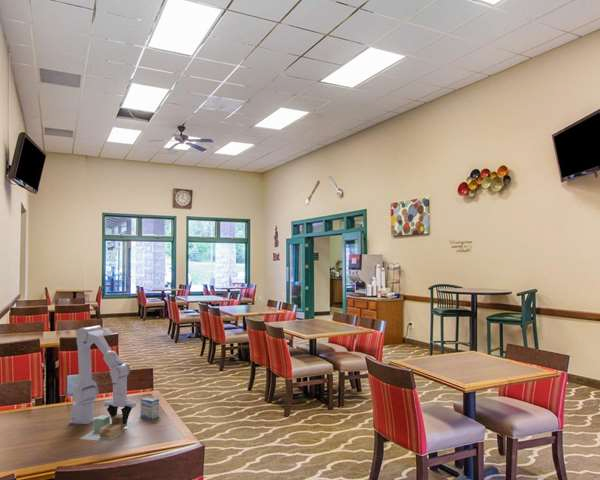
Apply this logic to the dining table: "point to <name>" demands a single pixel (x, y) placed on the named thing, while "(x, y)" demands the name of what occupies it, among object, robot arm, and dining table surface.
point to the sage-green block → (101, 422)
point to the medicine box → (149, 408)
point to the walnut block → (118, 420)
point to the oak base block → (110, 430)
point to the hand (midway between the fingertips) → (119, 423)
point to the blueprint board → (96, 436)
